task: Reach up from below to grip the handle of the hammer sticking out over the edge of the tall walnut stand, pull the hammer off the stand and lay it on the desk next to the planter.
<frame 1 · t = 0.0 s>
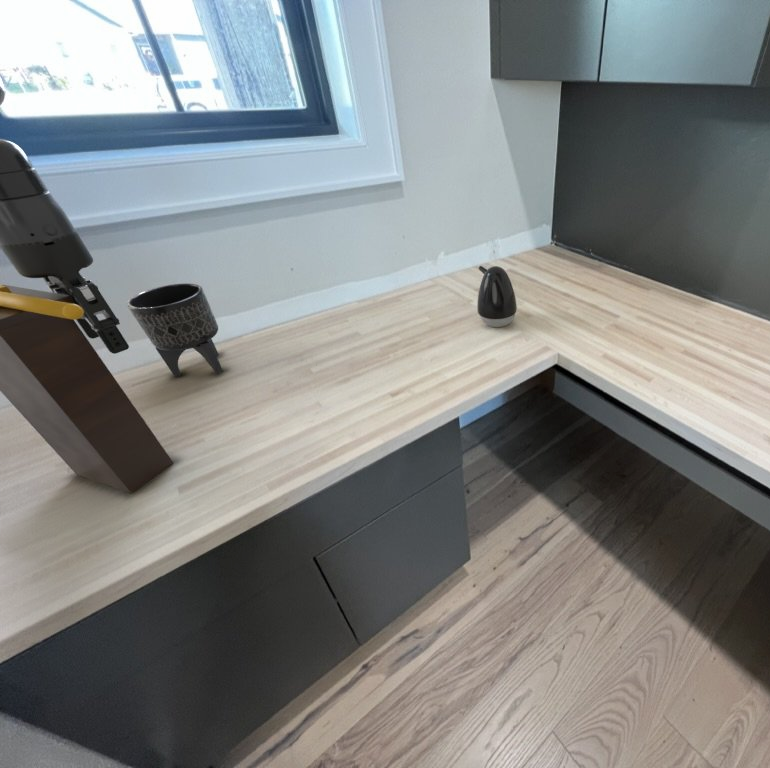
hand: (109, 343, 63), 21 cm above the worktop, tool pointing down, fingers open, 8 cm apart
stand: (125, 468, 70), on the worktop
pump dispenser: (497, 323, 111), on the worktop
planter: (204, 368, 96), on the worktop
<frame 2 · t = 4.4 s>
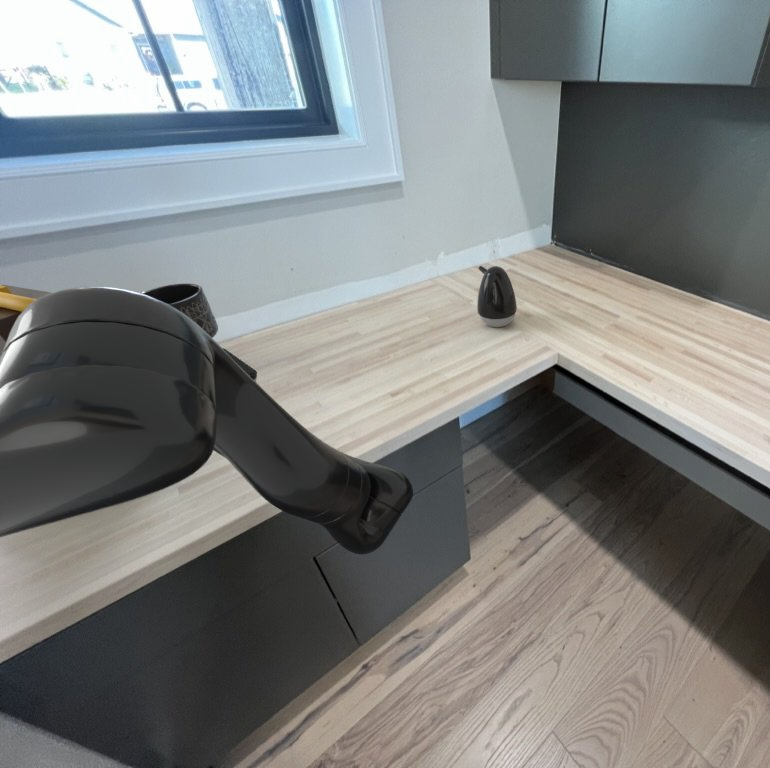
hand: (137, 362, 50), 25 cm above the worktop, tool pointing upward, fingers open, 8 cm apart
nothing on the worktop moved.
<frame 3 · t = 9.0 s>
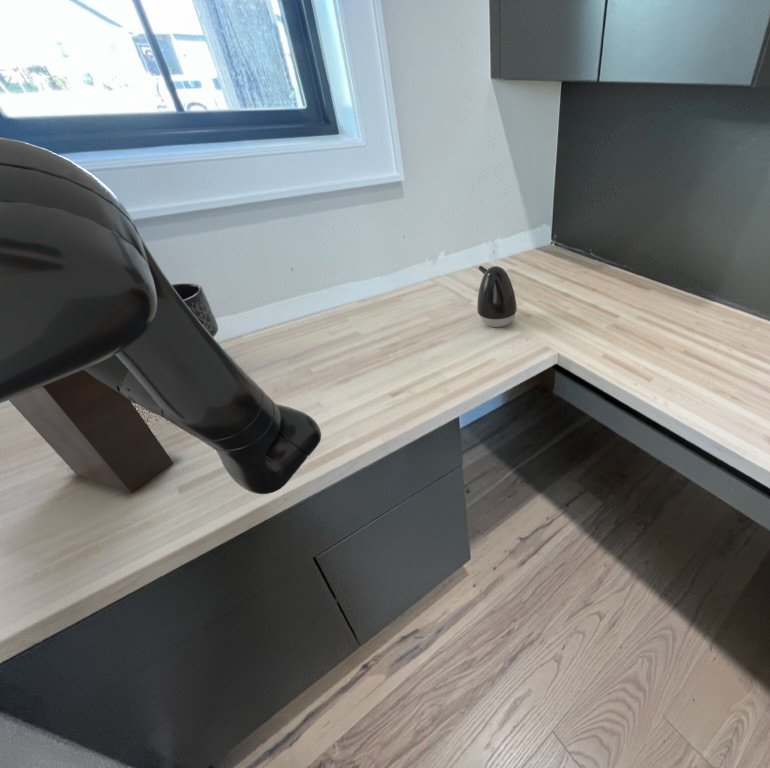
hand: (26, 293, 49), 32 cm above the worktop, tool pointing upward, fingers closed on hammer, 2 cm apart
everything else where it was.
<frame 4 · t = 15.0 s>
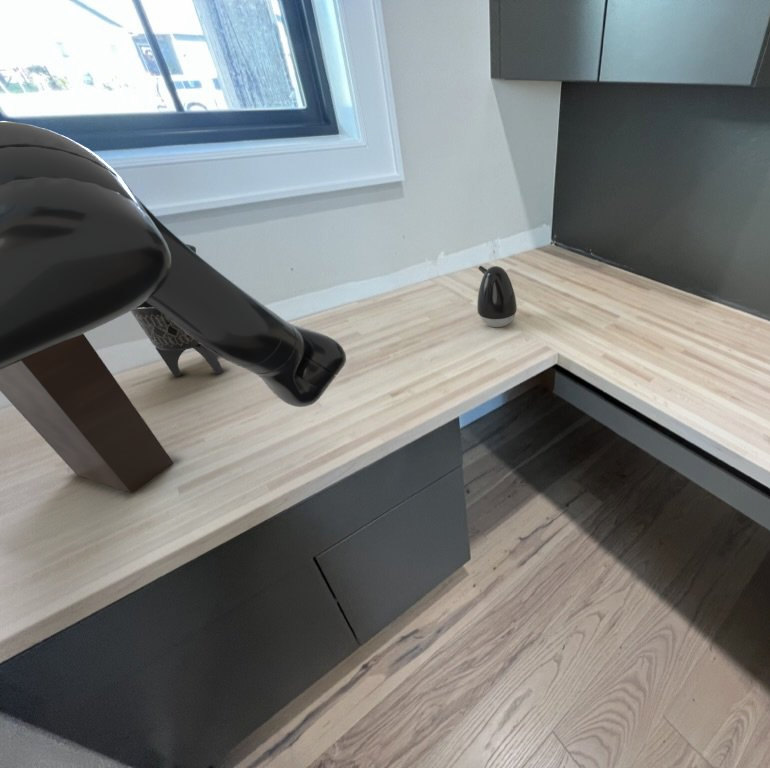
hand: (92, 230, 56), 36 cm above the worktop, tool pointing upward, fingers closed on hammer
hammer: (45, 241, 61), point 34 cm above the worktop, touching gripper
everything else where it was.
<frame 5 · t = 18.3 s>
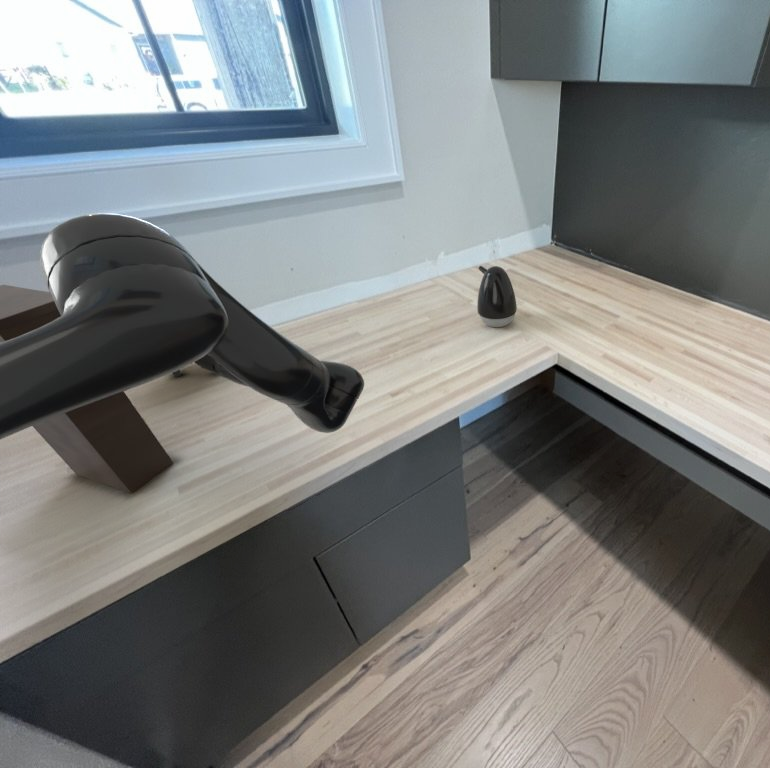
hand: (148, 317, 67), 22 cm above the worktop, tool horizontal, fingers closed on hammer, 2 cm apart
hammer: (120, 338, 73), point 17 cm above the worktop, tilted 15°, touching gripper
everything else where it was.
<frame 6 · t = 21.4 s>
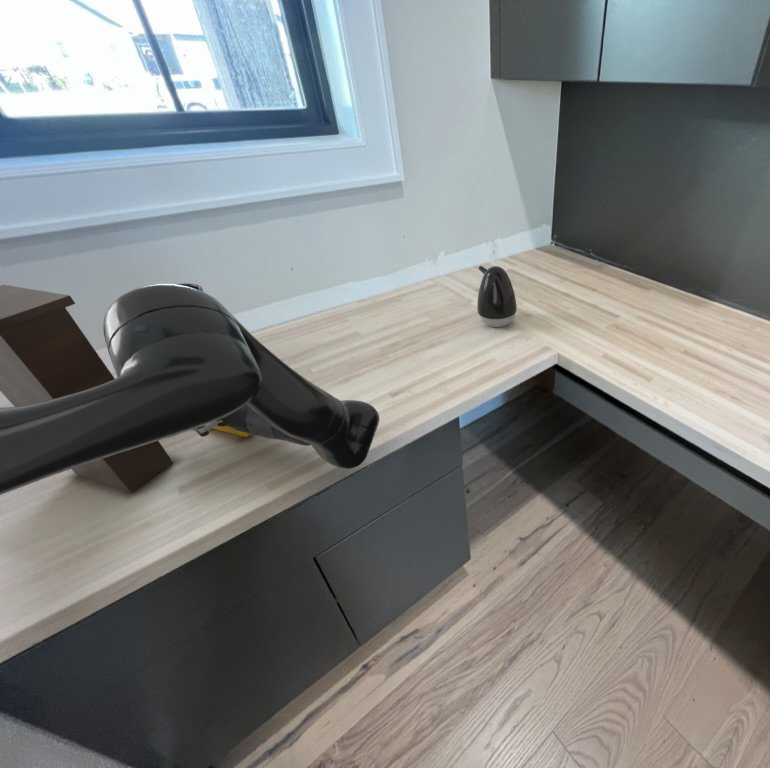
hand: (192, 396, 74), 7 cm above the worktop, tool horizontal, fingers open, 4 cm apart
hammer: (172, 415, 81), on the worktop
everything else where it was.
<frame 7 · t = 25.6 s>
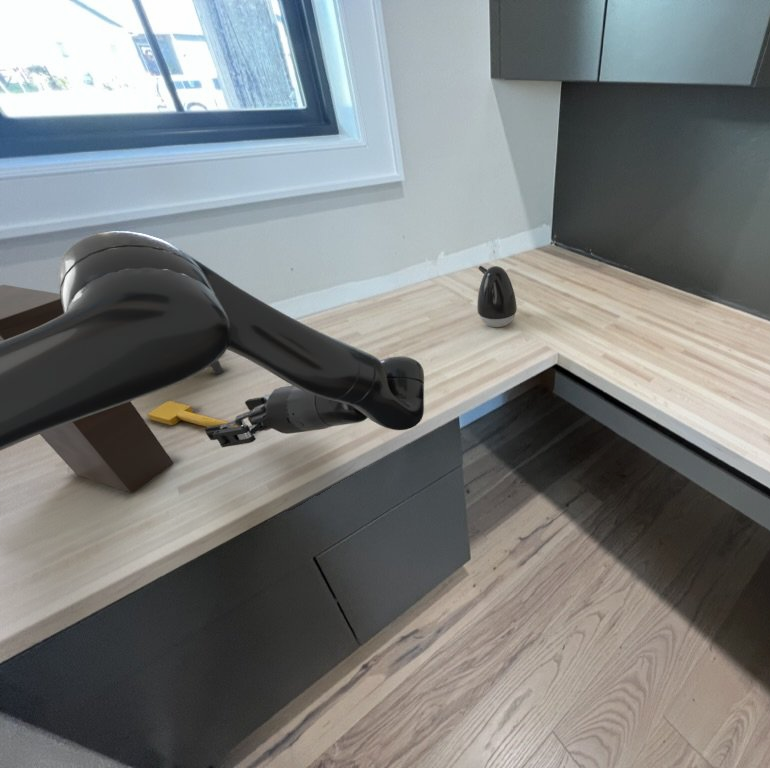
hand: (229, 419, 70), 6 cm above the worktop, tool horizontal, fingers open, 8 cm apart
nothing on the worktop moved.
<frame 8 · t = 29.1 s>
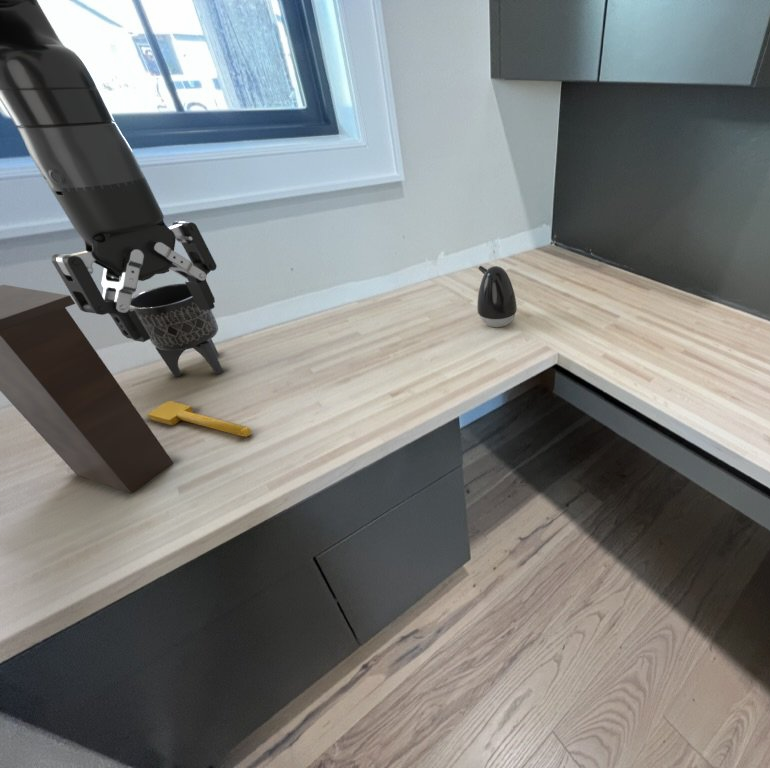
hand: (176, 323, 51), 28 cm above the worktop, tool pointing down, fingers open, 8 cm apart
nothing on the worktop moved.
at the end: hammer 17.8 cm from the planter (horizontally); hammer on the worktop; the gripper is holding nothing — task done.
